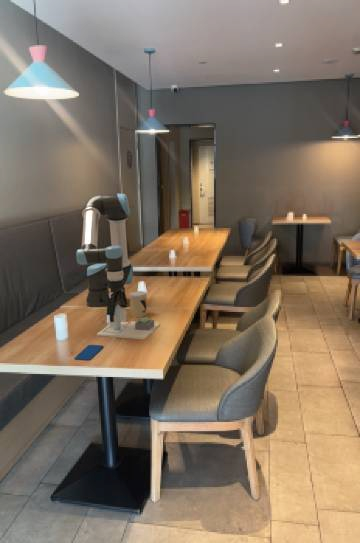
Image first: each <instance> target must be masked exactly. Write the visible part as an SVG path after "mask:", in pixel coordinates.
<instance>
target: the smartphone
mask: <svg viewBox="0 0 360 543" xmlns="http://www.w3.org/2000/svg"><path fill="white" fill-rule="evenodd" d="M103 349H104V345H101V344H99V345H98V344H88V345H86V346H85V347H84V348H83V349H82V350H81V351H80V352H79V353H78V354H77V355H76V356H75V357H74V358H73V359H74V360H75V361H92V359H93V358H95V357H96V355H98V354H99V353H100V352H101V351H102V350H103Z"/></svg>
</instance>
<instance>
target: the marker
mask: <svg viewBox="0 0 360 543" xmlns="http://www.w3.org/2000/svg"><path fill="white" fill-rule="evenodd" d="M120 307H121V306H120V304H119V302H116V308H115V313H114V315H115V317H116V328H113V330H121V322H120V321H121V319H120Z"/></svg>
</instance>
